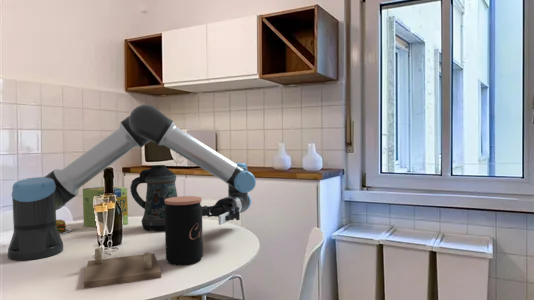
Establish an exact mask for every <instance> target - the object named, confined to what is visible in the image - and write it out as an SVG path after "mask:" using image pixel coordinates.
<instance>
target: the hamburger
mask: <svg viewBox="0 0 534 300" xmlns="http://www.w3.org/2000/svg"><path fill="white" fill-rule="evenodd" d="M56 227H57V229H58V232H59V234H60V235H63V234H62V233H61V232H63V233H64V234H66V233H70V232H71V231H72V229H71V228H67V225H66V220H63V219H56Z"/></svg>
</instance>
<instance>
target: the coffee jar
mask: <svg viewBox="0 0 534 300" xmlns="http://www.w3.org/2000/svg"><path fill="white" fill-rule="evenodd" d="M202 200H203V198H202V197H200V196H195V195H194V196H193V195H189V196H188V195H185V196H177V197H172V198H167V199H165V204H166V207H165V233H164V234H165V235H164V236H165V240H164V241H165V259H166V261H167V263H168V264H170V265H173V266H190V265H194V264H196V263H199V262H201V260H202V258H203V256H204V241H203V238H204V237H203V236H204V234H203V216H202V207H203V206H202V204H201V203H202Z"/></svg>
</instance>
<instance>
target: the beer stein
mask: <svg viewBox="0 0 534 300" xmlns="http://www.w3.org/2000/svg"><path fill="white" fill-rule="evenodd" d="M176 180H177V175H176V173H175V172H174V171H171V170H170V169H169V168H167V166H166V165H165V164H156V165H151V167H150V168H148V169H143V170H141V172H140V173H139V176H137V177H136V178H134V179H132V181H131V184H130V187H129V189H130V195H131V196H132V199H133V200H134V201H135V203H137V204H138V205H139V206H140V207H141V208H142V209H144V212H143V217H142V219H141V226H142V230H143V231H145V232H150V233H162V232H165V207H166V204H165V199H167V198H172V197H178V192H177V191H178V190H177V186H176ZM140 184H146V195H145V200H144V199H143V198H142V197H141V196H140V195H139V193H138V186H139V185H140Z"/></svg>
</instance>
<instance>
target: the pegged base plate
mask: <svg viewBox="0 0 534 300" xmlns="http://www.w3.org/2000/svg"><path fill="white" fill-rule="evenodd" d="M161 278H162V270H161V268H160V265H159V263H158V260H157V257H156V254H155V253H153V252H144V253H143V254H137V255H136V254H134V255H128V256H127V255H125V256H119V257H109V258H103V249H102V247H101V248H100V247H99V248H95V249H94V259H93V260H92V259H91V260H87V264H86V269H85V275H84V280H83V289H88V288H89V287H90V288H96V287H103V286H110V285H111V286H112V285H118V284H122V283H123V284H124V283H132V282H137V281H138V282H140V281H145V280H152V279H161Z"/></svg>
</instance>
